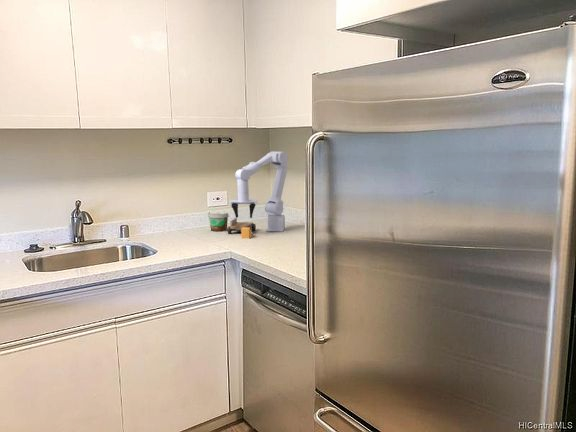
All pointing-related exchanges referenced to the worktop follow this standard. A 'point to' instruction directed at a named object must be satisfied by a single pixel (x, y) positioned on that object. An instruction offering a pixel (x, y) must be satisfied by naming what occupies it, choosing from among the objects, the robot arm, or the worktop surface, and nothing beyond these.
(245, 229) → the block
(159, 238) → the worktop surface
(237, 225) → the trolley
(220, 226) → the food container
